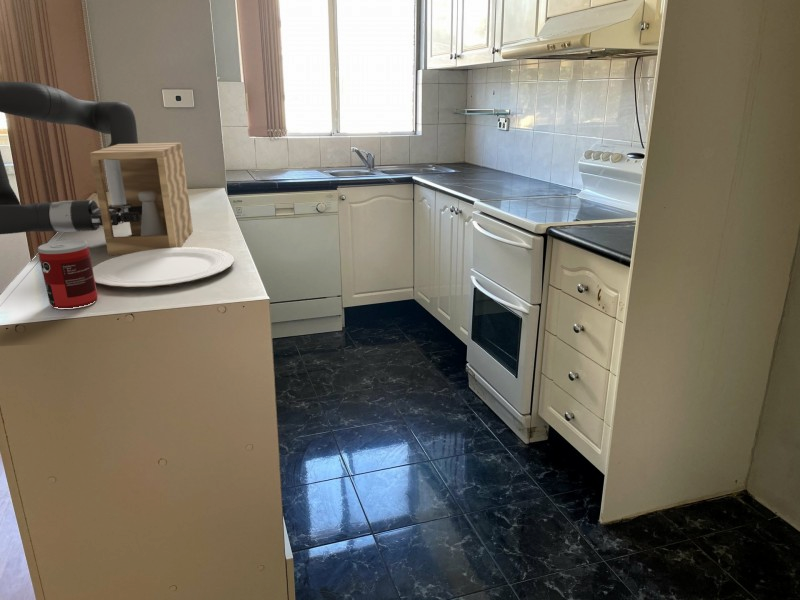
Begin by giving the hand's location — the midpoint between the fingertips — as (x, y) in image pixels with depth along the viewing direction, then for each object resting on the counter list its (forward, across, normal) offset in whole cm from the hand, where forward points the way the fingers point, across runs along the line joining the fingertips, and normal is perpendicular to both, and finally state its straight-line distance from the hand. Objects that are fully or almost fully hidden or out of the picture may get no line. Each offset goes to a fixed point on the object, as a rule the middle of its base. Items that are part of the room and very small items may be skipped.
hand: (144, 213), depth 149 cm
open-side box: (+1, 0, +8) cm, 8 cm away
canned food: (-2, -45, +8) cm, 46 cm away
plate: (+10, -27, +8) cm, 30 cm away
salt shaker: (+1, 0, +8) cm, 8 cm away
